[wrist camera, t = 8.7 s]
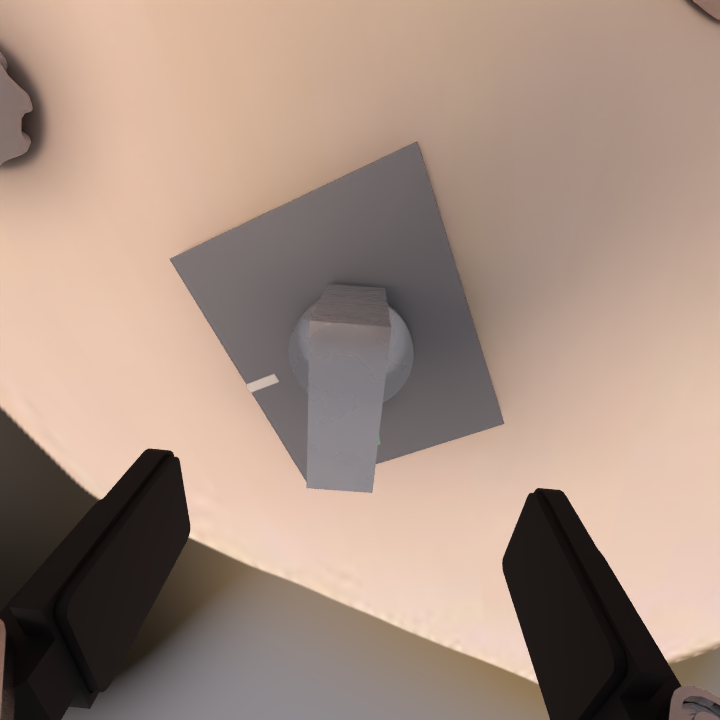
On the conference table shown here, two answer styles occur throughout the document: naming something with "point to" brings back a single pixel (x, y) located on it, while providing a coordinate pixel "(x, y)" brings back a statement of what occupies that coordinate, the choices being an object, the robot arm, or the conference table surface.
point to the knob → (348, 380)
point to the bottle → (12, 116)
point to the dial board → (353, 268)
